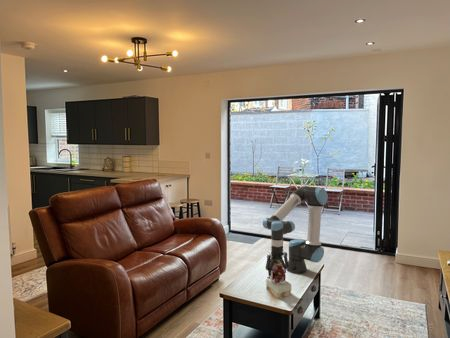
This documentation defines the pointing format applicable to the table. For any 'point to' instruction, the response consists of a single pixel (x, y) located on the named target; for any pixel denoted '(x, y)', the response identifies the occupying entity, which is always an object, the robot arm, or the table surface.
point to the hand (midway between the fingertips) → (277, 278)
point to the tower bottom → (283, 294)
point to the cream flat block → (279, 285)
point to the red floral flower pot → (278, 273)
